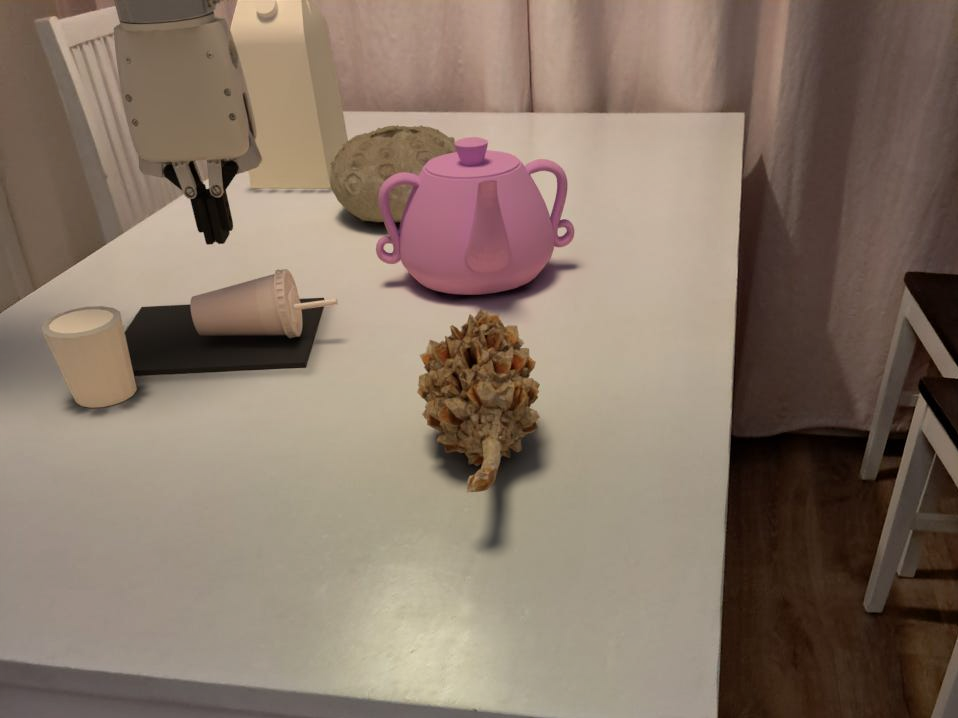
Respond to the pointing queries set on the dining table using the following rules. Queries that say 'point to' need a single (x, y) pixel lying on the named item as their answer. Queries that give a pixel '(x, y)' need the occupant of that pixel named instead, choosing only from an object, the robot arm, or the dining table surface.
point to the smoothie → (253, 308)
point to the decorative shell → (383, 167)
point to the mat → (211, 344)
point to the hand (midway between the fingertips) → (218, 238)
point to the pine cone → (480, 393)
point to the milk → (290, 91)
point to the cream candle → (92, 355)
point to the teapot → (474, 221)
